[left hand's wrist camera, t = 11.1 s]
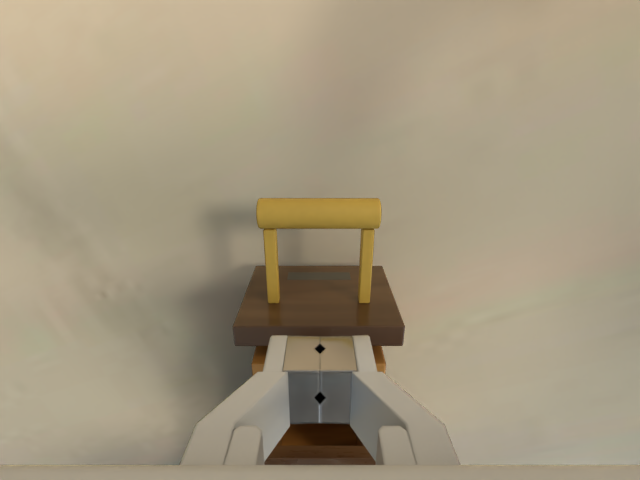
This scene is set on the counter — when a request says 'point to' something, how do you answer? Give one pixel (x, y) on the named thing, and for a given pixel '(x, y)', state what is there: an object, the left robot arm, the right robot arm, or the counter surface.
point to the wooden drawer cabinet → (320, 455)
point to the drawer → (318, 296)
